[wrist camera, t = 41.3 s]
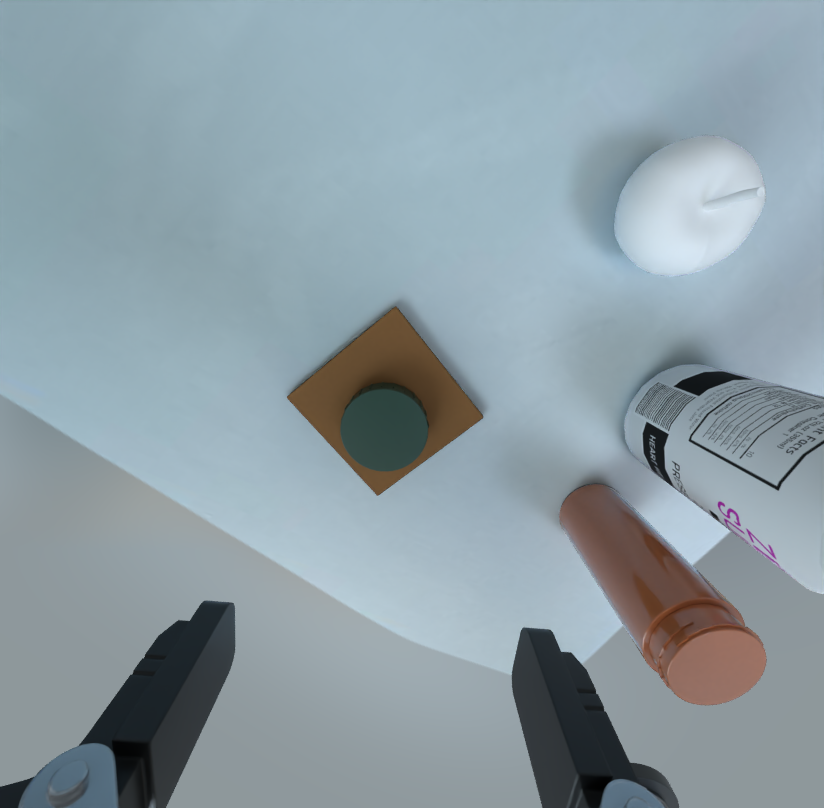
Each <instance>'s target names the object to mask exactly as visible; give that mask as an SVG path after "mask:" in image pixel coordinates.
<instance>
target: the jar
mask: <svg viewBox="0 0 824 808" xmlns="http://www.w3.org/2000/svg"><path fill="white" fill-rule="evenodd" d="M559 520H560V525H561V527H562V529H563V531H564V532H565V534H566V535H567V537H568V539H569V540H570V542H571V543H572V545H573V546H574V548H575V550H576V551H577V553H578V554H579V556H580V558H581V559H582V561H583V562H584V564H585V566H586V567H587V569H588V570H589V572H590V573H591V575H592V577H593V578H594V580H595V581H596V583H597V585H598V586H599V588H600V589H601V591H602V592H603V594H604V596H605V597H606V599H607V600H608V602H609V604H610V605H611V607H612V608H613V610H614V611H615V613H616V615H617V616H618V618H619V619H620V621H621V623H622V624H623V626H624V627H625V629H626V630H627V632H628V634H629V635H630V637H631V638H632V640H633V642H634V643H635V645H636V646H637V648H638V649H639V651H640V653H641V654H642V656H643V657H644V659H645V661H646V662H647V663H648V665H649V666H650V667H651V668H652V669H653V670H655V671H656V672H658V673H659V675H660V677H661V679H662V680H663V681H664V683H665V684H666V686H667V687H669V688H670V689H671V690H672V691H673V692H674V693H675V694H676V695H677V696H678V697H679V698H681V699H683V700H684V701H687V702H689V703H692V704H697V705H717V704H722V703H726V702H729V701H731V700H734V699H736V698H738V697H740V696H742V695H743V694H745V693H746V692H748V691H749V690H750V689H751V688H752V687H753V686H754V685H755V684H756V683H757V682H758V681H759V679H760V678H761V676H762V675H763V672H764V670H765V666H766V653H765V650H764V648H763V643H762V642H761V640H760V639H759V637H758V635H757V634H756V633H754V632H753V631H752V630H751V629H749V628H748V627H745V623H744V620H743V618H742V616H741V614H740V613H739V612H738V610H737V609H736V608H735V607H734V606H733V605H732V604H731V603H730V602H729V601H728V600H727V599H726V598H725V597H724V596H723V595H722V594H721V593H720V592H719V591H718V590H717V589H716V588H715V587H714V586H713V585H711V583H709V581H708V580H707V579H705V577H704V576H702V575H701V574H700V573H699V572H698V571H697V570H696V569H695V568H694V567H693V566H692V565H691V564H690V563H689V562H688V561H687V560H686V559H685V558H684V557H683V556H682V555H681V554H680V553H679V552H678V551H677V550H676V549H675V548H674V547H673V546H672V545H671V544H670V543H669V542H668V541H667V540H666V539H665V538H664V537H663V536H662V535H661V534H660V533H659V532H658V531H657V530H656V529H655V528H654V527H653V526H652V525H651V524H650V523H649V522H648V521H647V520H646V519H645V518H644V517H643V516H642V515H641V514H640V513H639V512H638V511H637V510H636V509H635V508H634V507H633V506H632V505H631V504H630V503H629V502H628V501H627V500H625V499H624V498H623V497H622V496H621V495H620V494H619V493H618V492H617V491H616V490H615V489H613V488H611V487H609V486H606V485H602V484H591V485H586V486H583V487H581V488H578V489H577V490H575V491H574V492H572V493H571V494H570V495H569V496H568V497H567V498H566V499H565V501H564V502H563V504H562V506H561V509H560V514H559Z"/></svg>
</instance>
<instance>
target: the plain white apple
mask: <svg viewBox="0 0 824 808" xmlns="http://www.w3.org/2000/svg"><path fill="white" fill-rule="evenodd" d="M765 201H766V188H765V184H764V181H763V177H762V174H761V171H760V168H759V166H758V164H757V163H756V161H755V159H754V158H753V156H752V155H751V154H750V153H749V152H748V151H746V150H745V149H744V148H743V147H741V146H739V145H737V144H736V143H734V142H732V141H730V140H728V139H726V138H723V137H719V136H711V135H702V136H696V137H691V138H686V139H682V140H680V141H677V142H674V143H671V144H669V145H667V146H665V147H663V148H661V149H660V150H658V151H656V152H655V153H653V154H651V155H650V156H649V157H648V158H647V159H646V160H645V161H644V162H643V163H642V164H641V165H640V166H639V167H638V168H637V169H636V170H635V172H634V173H633V174H632V175H631V177H630V178H629V179H628V181H627V183H626V184H625V186H624V188H623V190H622V192H621V194H620V197H619V200H618V204H617V208H616V212H615V220H614V231H615V237H616V240H617V242H618V244H619V246H620V247H621V249H622V251H623V252H624V253H625V254H626V256H627V257H628V258H629V259H630V260H631V261H632V262H633V263H634V264H635V265H636V266H637V267H639V268H641V269H643V270H644V271H646V272H648V273H652V274H657V275H661V276H683V275H688V274H693V273H696V272H699V271H701V270H704V269H706V268H708V267H710V266H712V265H714V264H716V263H718V262H720V261H722V260H723V259H725V258H726V257H728V256H729V255H730V254H732V253H733V252H734V251H736V250H737V249H738V248H739V246H740V245H741V244H742V243H743V242H744V241H745V239H746V238H747V236H748V235H749V233H750V232H751V230H752V228H753V227H754V225H755V223H756V221H757V220H758V218H759V216H760V214H761V212H762V210H763V207H764V204H765Z"/></svg>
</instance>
